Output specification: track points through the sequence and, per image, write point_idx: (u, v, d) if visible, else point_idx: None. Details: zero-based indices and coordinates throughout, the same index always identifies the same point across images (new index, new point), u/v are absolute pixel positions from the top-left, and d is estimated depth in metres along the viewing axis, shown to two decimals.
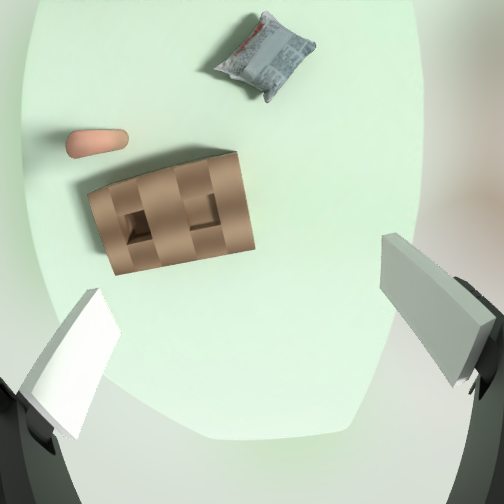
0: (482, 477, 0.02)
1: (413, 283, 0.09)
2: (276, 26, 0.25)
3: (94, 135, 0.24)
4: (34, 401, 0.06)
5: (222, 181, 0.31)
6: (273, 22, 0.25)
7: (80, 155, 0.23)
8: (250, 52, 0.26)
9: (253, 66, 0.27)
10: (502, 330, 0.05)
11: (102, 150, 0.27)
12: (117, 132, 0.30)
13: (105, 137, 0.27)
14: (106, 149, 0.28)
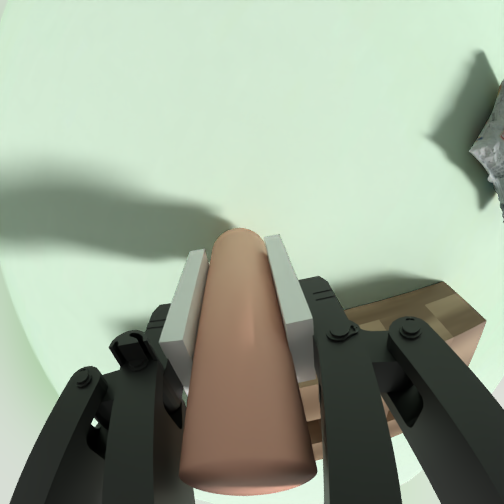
0: (327, 501, 0.03)
1: (273, 281, 0.11)
2: None
3: (298, 395, 0.06)
4: (178, 352, 0.07)
5: None
6: None
7: (267, 492, 0.05)
8: None
9: None
10: (317, 341, 0.07)
11: None
12: (265, 263, 0.12)
13: None
14: None
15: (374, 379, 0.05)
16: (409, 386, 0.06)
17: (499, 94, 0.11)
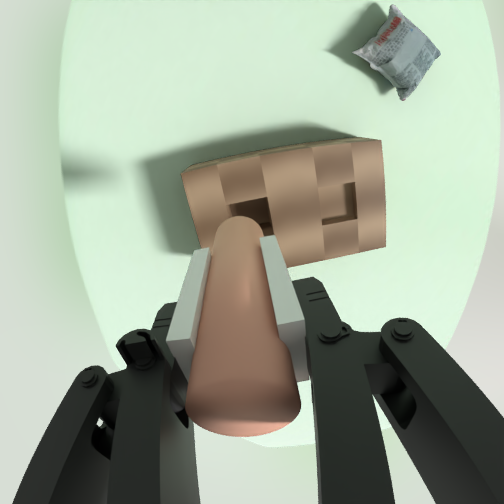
0: (321, 503, 0.03)
1: None
2: (411, 24, 0.19)
3: None
4: (185, 351, 0.08)
5: (365, 169, 0.25)
6: (407, 19, 0.19)
7: (260, 432, 0.07)
8: (395, 45, 0.20)
9: (399, 61, 0.21)
10: (308, 342, 0.07)
11: None
12: None
13: None
14: None
15: (366, 380, 0.05)
16: (402, 388, 0.06)
17: (384, 24, 0.21)
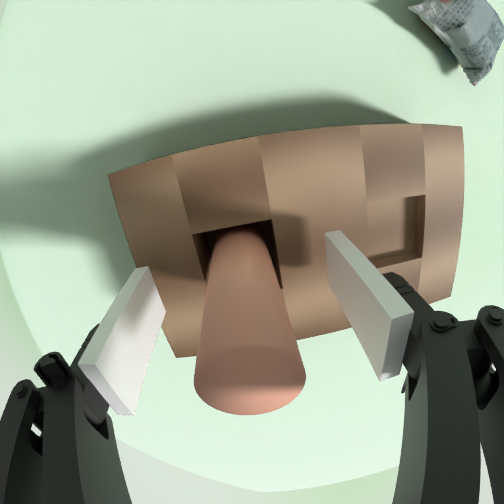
0: (415, 485, 0.03)
1: (346, 277, 0.10)
2: None
3: (288, 319, 0.08)
4: (95, 374, 0.07)
5: (440, 173, 0.13)
6: None
7: (266, 409, 0.07)
8: (465, 8, 0.08)
9: (472, 28, 0.09)
10: (421, 329, 0.06)
11: None
12: (261, 238, 0.15)
13: None
14: None
15: (469, 370, 0.04)
16: (484, 373, 0.05)
17: None
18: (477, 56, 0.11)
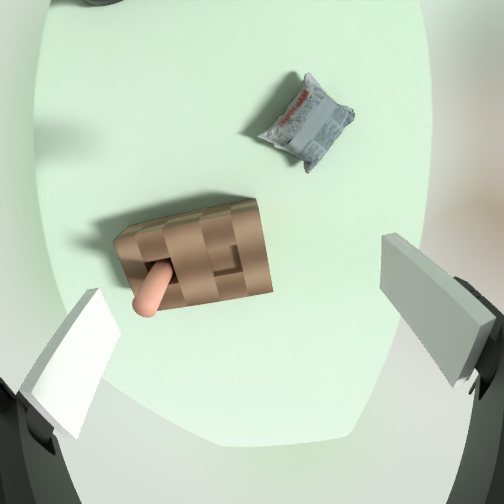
0: (482, 477, 0.02)
1: (413, 283, 0.09)
2: (320, 95, 0.30)
3: (158, 292, 0.31)
4: (34, 401, 0.06)
5: (245, 234, 0.35)
6: (317, 90, 0.30)
7: (150, 315, 0.30)
8: (296, 125, 0.31)
9: (298, 140, 0.32)
10: (502, 330, 0.05)
11: None
12: (169, 264, 0.37)
13: (165, 284, 0.33)
14: None
15: None
16: None
17: None
18: (305, 156, 0.34)
